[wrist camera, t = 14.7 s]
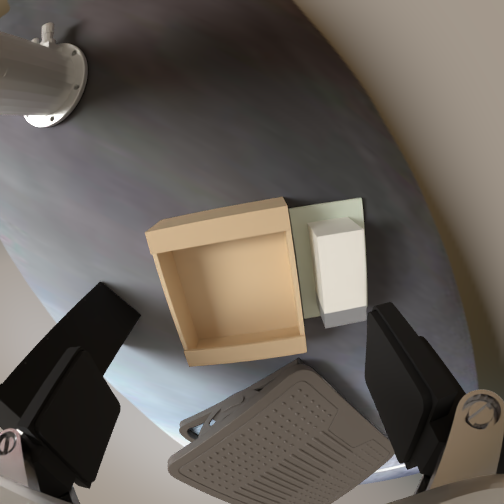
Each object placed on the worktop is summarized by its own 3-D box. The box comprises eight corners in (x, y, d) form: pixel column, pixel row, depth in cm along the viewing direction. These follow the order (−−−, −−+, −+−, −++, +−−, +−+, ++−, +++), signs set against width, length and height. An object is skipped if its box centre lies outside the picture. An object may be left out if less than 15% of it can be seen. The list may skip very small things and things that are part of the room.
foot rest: (395, 438, 51) (411, 480, 39) (288, 486, 58) (291, 525, 46) (301, 345, 42) (313, 408, 30) (169, 419, 49) (154, 471, 37)
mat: (288, 208, 35) (289, 209, 35) (360, 197, 34) (361, 198, 34) (303, 316, 40) (304, 318, 39) (366, 304, 39) (367, 306, 39)
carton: (161, 219, 36) (144, 232, 30) (282, 196, 35) (287, 205, 29) (197, 340, 41) (189, 366, 36) (301, 326, 40) (307, 352, 35)
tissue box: (142, 314, 40) (49, 476, 14) (119, 343, 42) (38, 486, 16) (100, 280, 39) (-25, 415, 12) (81, 312, 41) (-22, 438, 14)
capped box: (307, 222, 35) (316, 236, 29) (347, 216, 35) (363, 229, 29) (316, 303, 38) (325, 328, 33) (352, 296, 38) (366, 320, 32)
